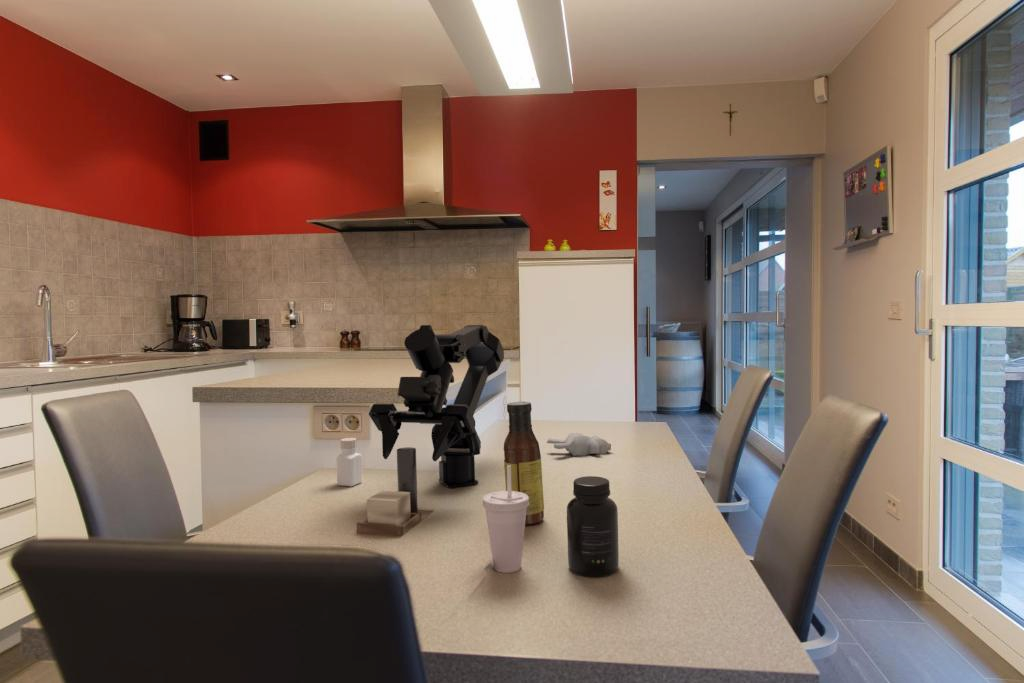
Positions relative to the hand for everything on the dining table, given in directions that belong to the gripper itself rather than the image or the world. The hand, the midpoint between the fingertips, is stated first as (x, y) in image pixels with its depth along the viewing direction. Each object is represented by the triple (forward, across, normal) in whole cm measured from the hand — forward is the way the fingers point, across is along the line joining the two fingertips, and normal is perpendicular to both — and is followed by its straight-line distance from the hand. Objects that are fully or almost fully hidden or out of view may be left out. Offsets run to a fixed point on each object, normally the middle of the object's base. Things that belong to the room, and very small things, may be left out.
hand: (408, 458), depth 106 cm
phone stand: (+11, 0, +4) cm, 11 cm away
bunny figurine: (-31, +20, +46) cm, 59 cm away
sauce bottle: (+5, +20, +10) cm, 22 cm away
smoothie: (+19, +22, -4) cm, 29 cm away
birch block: (+12, 0, +1) cm, 12 cm away
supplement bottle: (+17, +34, -2) cm, 38 cm away
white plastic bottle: (-5, -22, +20) cm, 30 cm away
